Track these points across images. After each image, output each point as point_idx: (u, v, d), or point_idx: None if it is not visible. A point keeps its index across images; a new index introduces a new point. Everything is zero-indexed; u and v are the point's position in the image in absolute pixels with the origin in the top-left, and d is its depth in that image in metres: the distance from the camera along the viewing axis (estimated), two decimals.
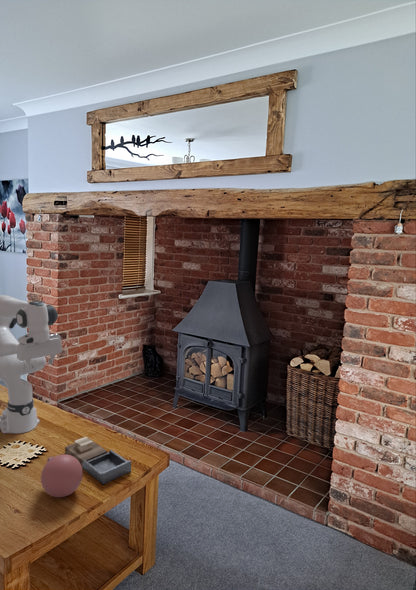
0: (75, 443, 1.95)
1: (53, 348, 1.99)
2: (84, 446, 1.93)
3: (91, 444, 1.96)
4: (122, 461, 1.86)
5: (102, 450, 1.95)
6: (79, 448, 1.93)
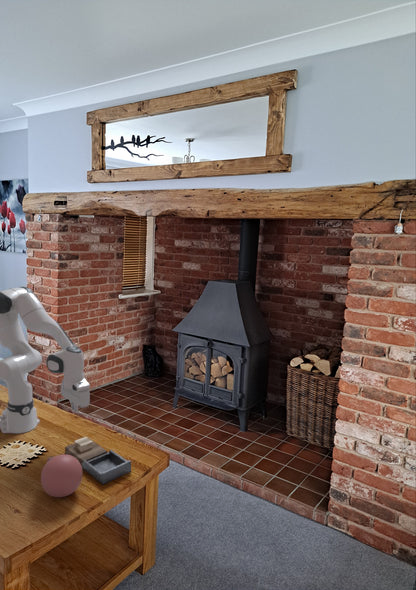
0: (75, 443, 1.95)
1: None
2: (84, 446, 1.93)
3: (91, 444, 1.96)
4: (122, 461, 1.86)
5: (102, 450, 1.95)
6: (79, 448, 1.93)
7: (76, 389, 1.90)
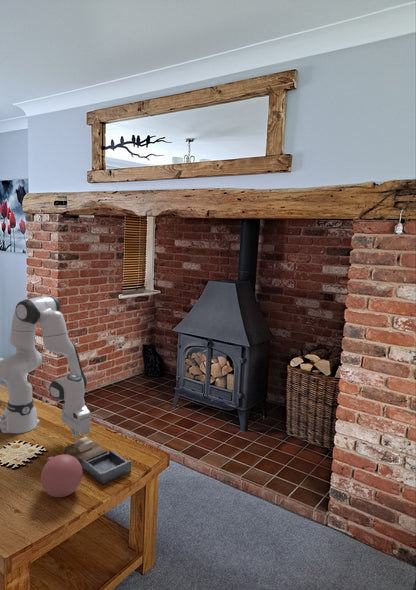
0: (75, 443, 1.95)
1: None
2: (84, 446, 1.93)
3: (91, 444, 1.96)
4: (122, 461, 1.86)
5: (102, 450, 1.95)
6: (79, 448, 1.93)
7: (77, 417, 1.92)
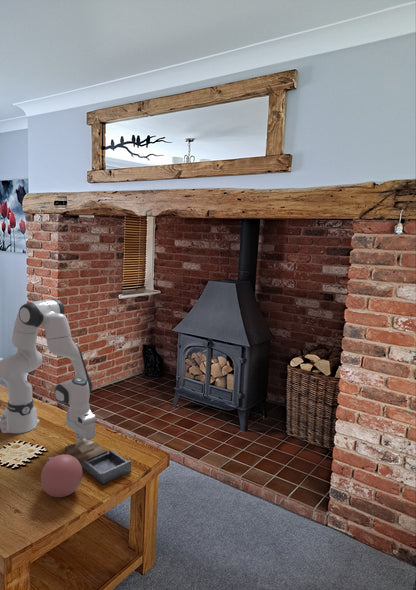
0: (76, 444, 1.95)
1: None
2: (85, 447, 1.93)
3: (92, 445, 1.95)
4: (122, 461, 1.86)
5: (102, 450, 1.95)
6: (80, 449, 1.93)
7: (82, 422, 1.89)
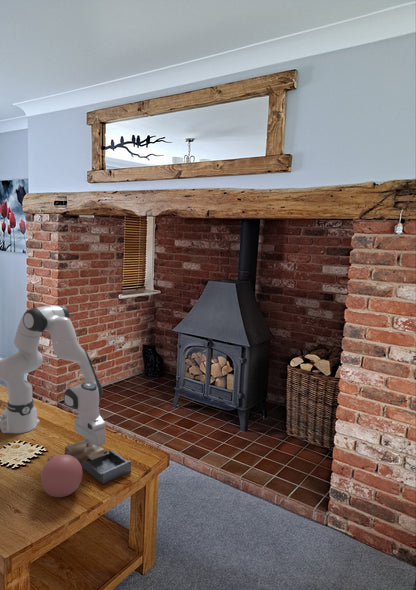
0: (85, 451, 1.89)
1: None
2: (95, 454, 1.87)
3: (102, 452, 1.90)
4: (122, 461, 1.86)
5: None
6: (90, 456, 1.87)
7: (91, 428, 1.84)
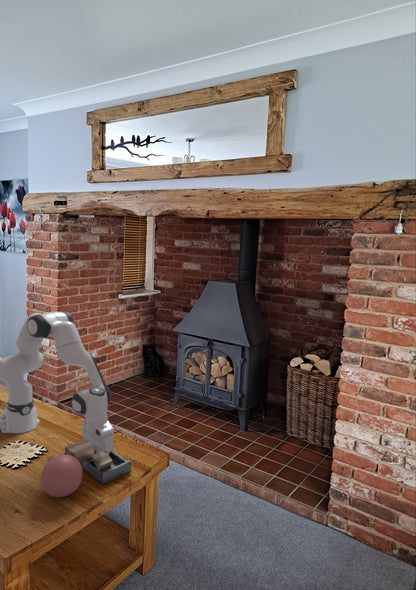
0: (94, 458, 1.85)
1: None
2: (103, 465, 1.83)
3: (110, 463, 1.86)
4: (122, 461, 1.86)
5: None
6: (97, 465, 1.84)
7: (100, 434, 1.80)
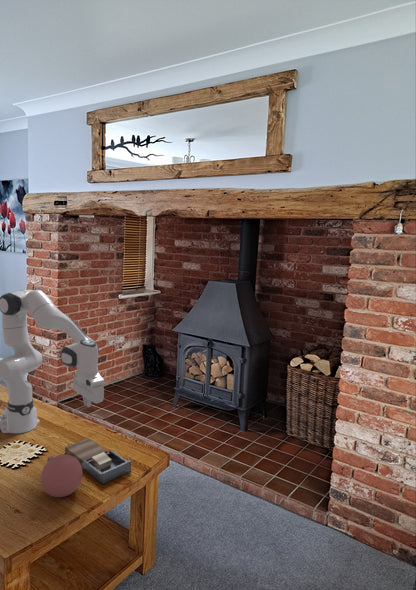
0: (93, 459, 1.86)
1: None
2: (102, 465, 1.84)
3: (109, 462, 1.86)
4: (122, 461, 1.86)
5: (102, 450, 1.95)
6: (97, 466, 1.84)
7: (90, 384, 1.82)
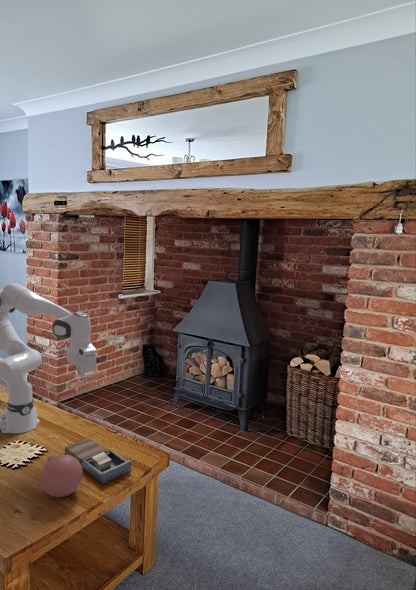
0: (93, 459, 1.86)
1: None
2: (102, 465, 1.84)
3: (109, 462, 1.86)
4: (122, 461, 1.86)
5: (102, 450, 1.95)
6: (97, 466, 1.84)
7: (83, 353, 1.91)
